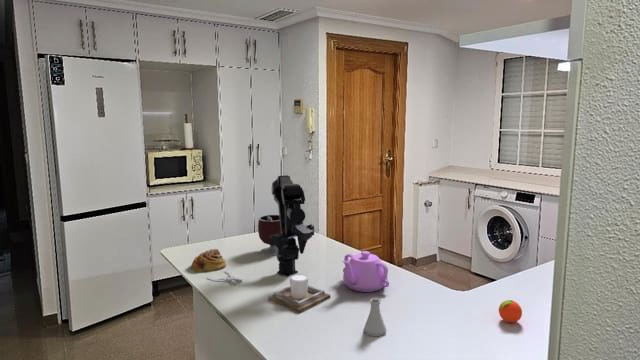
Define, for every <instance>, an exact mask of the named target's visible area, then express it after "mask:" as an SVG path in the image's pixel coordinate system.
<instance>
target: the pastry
mask: <svg viewBox="0 0 640 360" xmlns="http://www.w3.org/2000/svg"><path fill="white" fill-rule="evenodd" d="M226 267H227V262H226V259H225V258H224V257H223V256H222V255H221V252H220V251H219V248H213V249H212V248H211V249H207V250H205V251H204V252H201V253H200V254H198V255H197V256H195V257H194V259H193V261H192V262H191V265H190V268H191V270H192V271H194V272H197V273H203V272H217V271H221V270H223V269H225V268H226Z"/></svg>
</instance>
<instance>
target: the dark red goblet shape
mask: <svg viewBox="0 0 640 360" xmlns="http://www.w3.org/2000/svg"><path fill="white" fill-rule="evenodd" d="M278 233H279V234H281V229H280V219H279V214H265V215H262V216H259V217H258V221H257V234H258V237H259V239H260V240H261V242H262V243H263V244H266V245H269V246H268V247H264V248H262V249H261V250H260V254H261V255H262V256H265V257H266V256H267V257H277V256H276V252H277V247H276V245H275V244H273V243H270V237H271V236H272V235H275V234H278Z"/></svg>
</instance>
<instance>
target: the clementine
mask: <svg viewBox="0 0 640 360" xmlns="http://www.w3.org/2000/svg"><path fill="white" fill-rule="evenodd" d="M498 314H499V316H500V317H501V319H502V320H503V321H504V322H507V323H512V324H514V323H517V322H518V321H520V320H521V318H522V315H523V310H522V307H521V305H520V304H519V303H517V301H514V300H511V299H507V300H504V301H502V302H501V303H500V304H499V306H498Z"/></svg>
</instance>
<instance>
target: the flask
mask: <svg viewBox="0 0 640 360" xmlns="http://www.w3.org/2000/svg"><path fill="white" fill-rule="evenodd" d="M369 301H370V311H369V314H368V317H367V320H366V322H365V324H364V328H363V332H364V333H365V334H366V335H367V336H372V337H373V336H374V337H379V336H383V335H386V334H387V327H386V325H385V322H384V320H383V316H382V313H381V309H380V304H381V300H380V299H379V298H371V299H370V300H369Z"/></svg>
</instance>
